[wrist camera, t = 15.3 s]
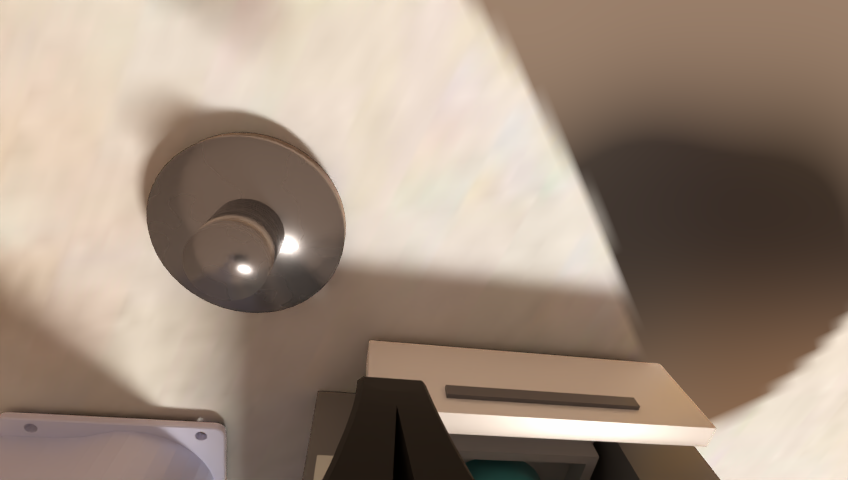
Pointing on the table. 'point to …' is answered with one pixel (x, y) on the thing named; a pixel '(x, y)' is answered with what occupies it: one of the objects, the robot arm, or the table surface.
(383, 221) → the table surface
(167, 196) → the spindle stand
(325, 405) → the player cabinet
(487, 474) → the teal rounded disc
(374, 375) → the drawer
